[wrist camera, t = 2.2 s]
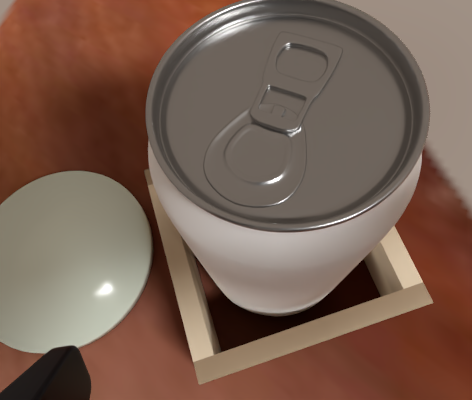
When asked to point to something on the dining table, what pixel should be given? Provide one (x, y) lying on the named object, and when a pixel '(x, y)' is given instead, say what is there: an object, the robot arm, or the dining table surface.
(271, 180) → the can
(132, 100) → the dining table surface
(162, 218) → the holder
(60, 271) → the pale green flat disc
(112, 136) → the dining table surface
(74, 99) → the dining table surface
